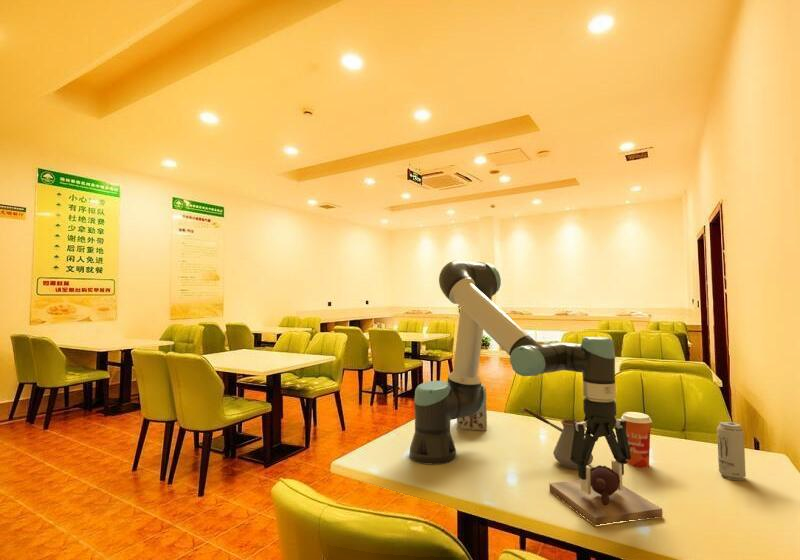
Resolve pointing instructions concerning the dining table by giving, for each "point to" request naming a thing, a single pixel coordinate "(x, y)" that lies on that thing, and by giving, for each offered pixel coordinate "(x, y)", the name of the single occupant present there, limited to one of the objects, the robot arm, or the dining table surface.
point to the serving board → (592, 508)
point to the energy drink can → (731, 450)
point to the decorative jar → (474, 420)
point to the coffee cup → (638, 438)
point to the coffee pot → (563, 441)
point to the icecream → (604, 482)
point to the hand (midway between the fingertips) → (601, 489)
